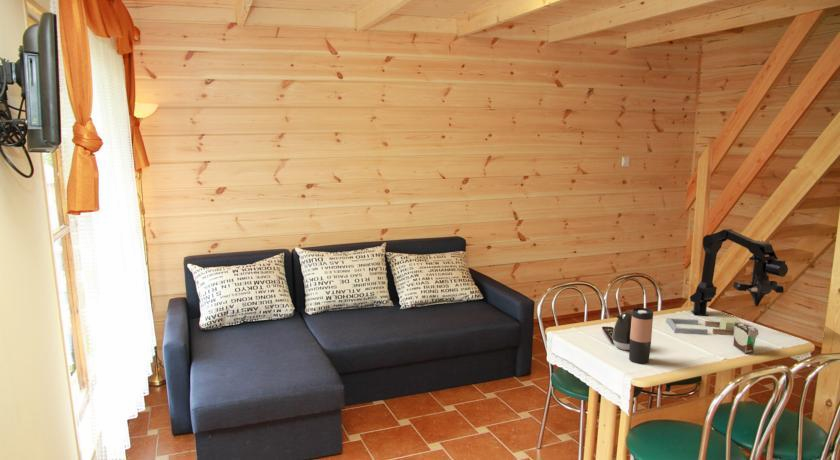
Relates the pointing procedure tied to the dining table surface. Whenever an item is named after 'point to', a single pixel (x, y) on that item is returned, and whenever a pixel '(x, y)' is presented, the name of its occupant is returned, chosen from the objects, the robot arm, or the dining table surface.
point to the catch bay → (676, 329)
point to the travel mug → (640, 335)
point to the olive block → (728, 323)
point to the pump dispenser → (622, 331)
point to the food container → (744, 337)
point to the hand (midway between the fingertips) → (756, 306)
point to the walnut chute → (718, 331)
